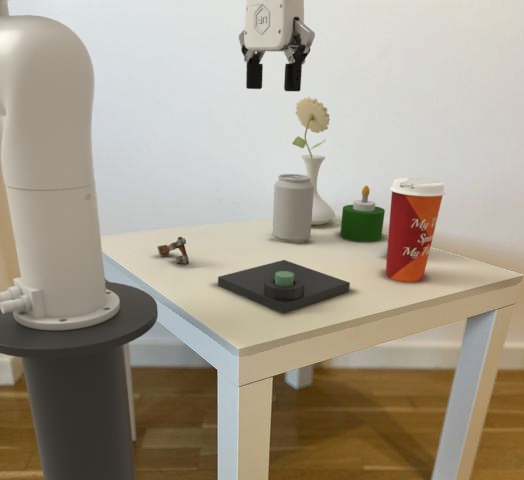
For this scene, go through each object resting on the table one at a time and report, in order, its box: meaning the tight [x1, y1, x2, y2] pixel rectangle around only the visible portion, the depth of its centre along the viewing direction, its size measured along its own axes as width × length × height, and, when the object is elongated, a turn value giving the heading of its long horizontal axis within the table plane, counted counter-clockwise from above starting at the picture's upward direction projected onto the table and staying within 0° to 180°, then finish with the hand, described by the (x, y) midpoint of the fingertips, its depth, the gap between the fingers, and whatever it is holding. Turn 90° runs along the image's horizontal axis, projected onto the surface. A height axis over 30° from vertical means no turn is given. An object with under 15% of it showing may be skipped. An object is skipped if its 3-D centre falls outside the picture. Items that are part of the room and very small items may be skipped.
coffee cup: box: [385, 177, 446, 283], centre depth 86 cm, size 8×8×15 cm
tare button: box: [275, 271, 294, 286], centre depth 76 cm, size 3×3×2 cm
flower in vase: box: [291, 96, 336, 226], centre depth 115 cm, size 13×11×25 cm
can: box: [272, 173, 314, 244], centre depth 105 cm, size 8×8×12 cm
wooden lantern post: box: [156, 236, 190, 265], centre depth 92 cm, size 2×8×4 cm, turn 39°
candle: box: [339, 185, 386, 243], centre depth 109 cm, size 8×8×10 cm
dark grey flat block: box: [217, 259, 351, 314], centre depth 82 cm, size 14×14×3 cm
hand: (272, 89), depth 94 cm, fingers open, 9 cm apart
